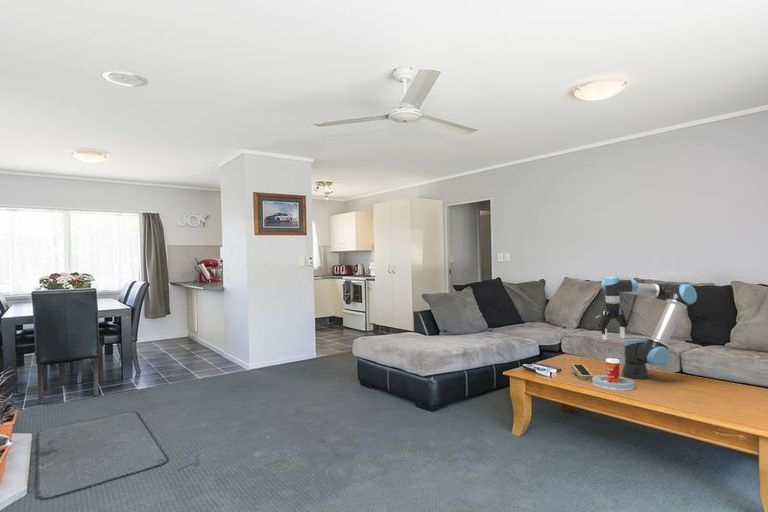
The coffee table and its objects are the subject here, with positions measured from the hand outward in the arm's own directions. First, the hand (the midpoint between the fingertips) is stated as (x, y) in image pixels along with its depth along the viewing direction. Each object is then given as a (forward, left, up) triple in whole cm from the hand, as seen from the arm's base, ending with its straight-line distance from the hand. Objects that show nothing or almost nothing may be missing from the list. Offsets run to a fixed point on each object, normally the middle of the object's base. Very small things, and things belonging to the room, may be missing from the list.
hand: (613, 338), depth 259 cm
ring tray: (+2, +1, -27) cm, 27 cm away
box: (+6, -19, -27) cm, 34 cm away
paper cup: (+2, +1, -26) cm, 26 cm away
